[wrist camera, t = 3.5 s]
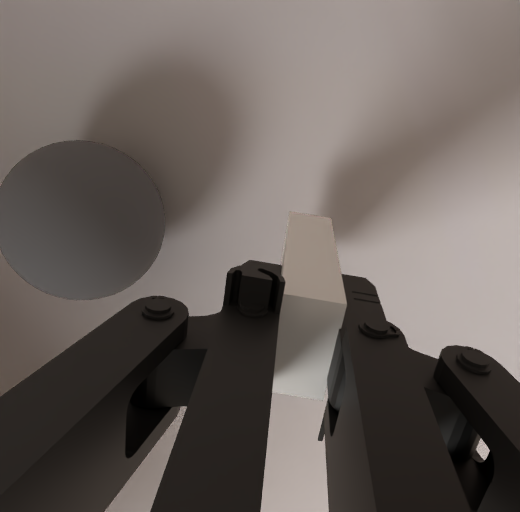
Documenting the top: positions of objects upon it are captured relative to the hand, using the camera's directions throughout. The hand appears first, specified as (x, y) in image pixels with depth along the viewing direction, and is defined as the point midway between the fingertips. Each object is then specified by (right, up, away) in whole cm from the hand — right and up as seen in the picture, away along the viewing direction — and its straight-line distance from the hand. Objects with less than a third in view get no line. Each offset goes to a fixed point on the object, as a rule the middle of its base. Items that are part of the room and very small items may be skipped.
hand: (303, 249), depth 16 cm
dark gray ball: (-8, +1, -1) cm, 8 cm away
